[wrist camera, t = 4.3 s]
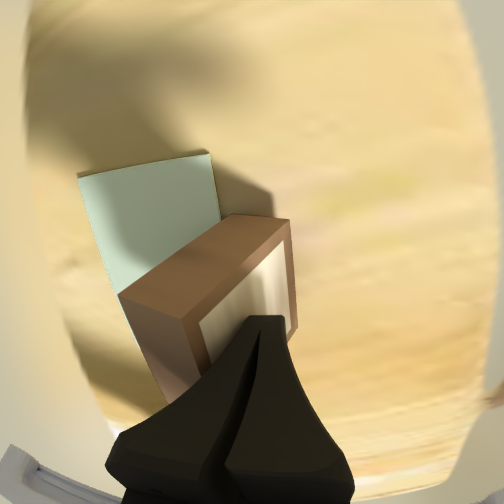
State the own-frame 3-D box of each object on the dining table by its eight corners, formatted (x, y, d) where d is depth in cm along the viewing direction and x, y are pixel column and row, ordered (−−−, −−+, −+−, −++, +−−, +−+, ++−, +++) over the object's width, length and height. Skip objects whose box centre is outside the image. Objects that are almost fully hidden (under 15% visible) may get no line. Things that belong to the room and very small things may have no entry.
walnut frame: (298, 327, 16) (223, 431, 11) (248, 314, 18) (168, 403, 13) (290, 219, 14) (181, 319, 9) (231, 213, 15) (116, 294, 10)
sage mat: (247, 352, 19) (246, 355, 19) (141, 346, 21) (139, 349, 21) (209, 153, 14) (208, 154, 14) (80, 177, 15) (77, 178, 15)
